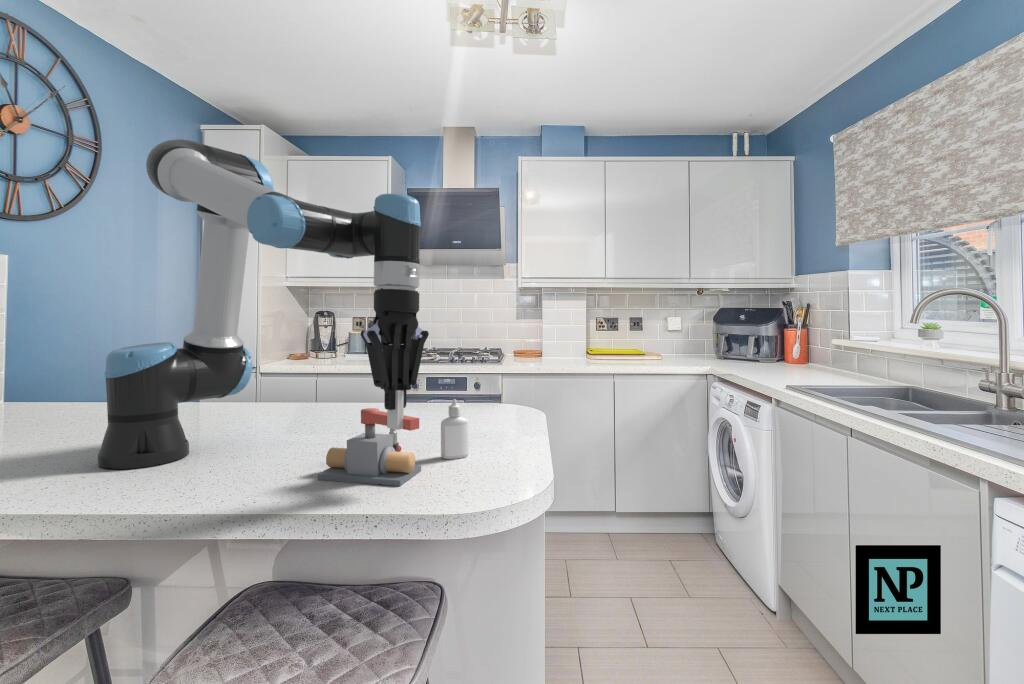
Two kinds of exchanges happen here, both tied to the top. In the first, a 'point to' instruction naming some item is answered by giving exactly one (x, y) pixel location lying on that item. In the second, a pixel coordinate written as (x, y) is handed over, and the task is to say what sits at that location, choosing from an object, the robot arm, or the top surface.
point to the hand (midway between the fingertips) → (395, 427)
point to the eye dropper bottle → (454, 434)
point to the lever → (381, 418)
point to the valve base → (370, 461)
